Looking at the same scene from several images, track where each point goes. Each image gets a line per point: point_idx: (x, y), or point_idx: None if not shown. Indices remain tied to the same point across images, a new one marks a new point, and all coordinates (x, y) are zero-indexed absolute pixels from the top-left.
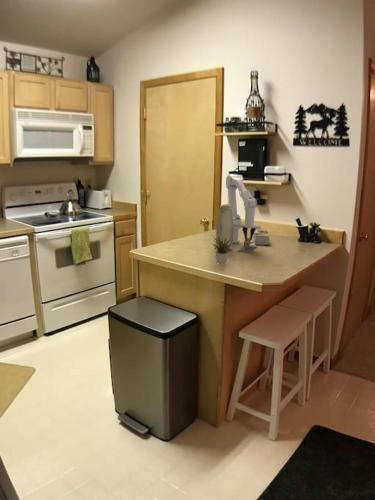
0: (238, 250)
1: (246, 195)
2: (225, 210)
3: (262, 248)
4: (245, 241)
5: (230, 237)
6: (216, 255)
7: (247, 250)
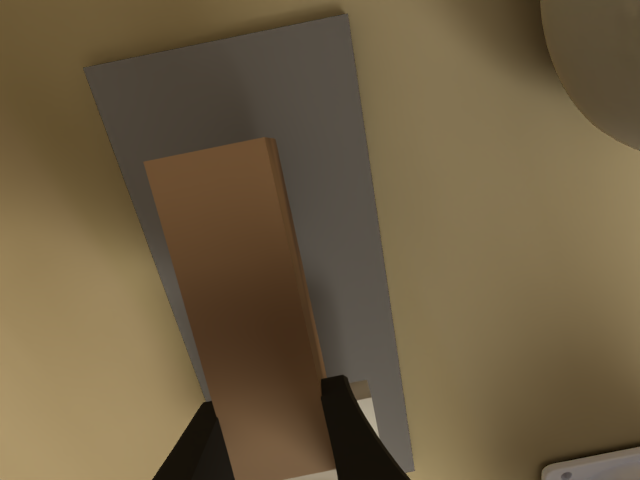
0: (344, 41)
1: None
2: None
3: (117, 438)
4: (237, 199)
5: None
6: None
7: None
